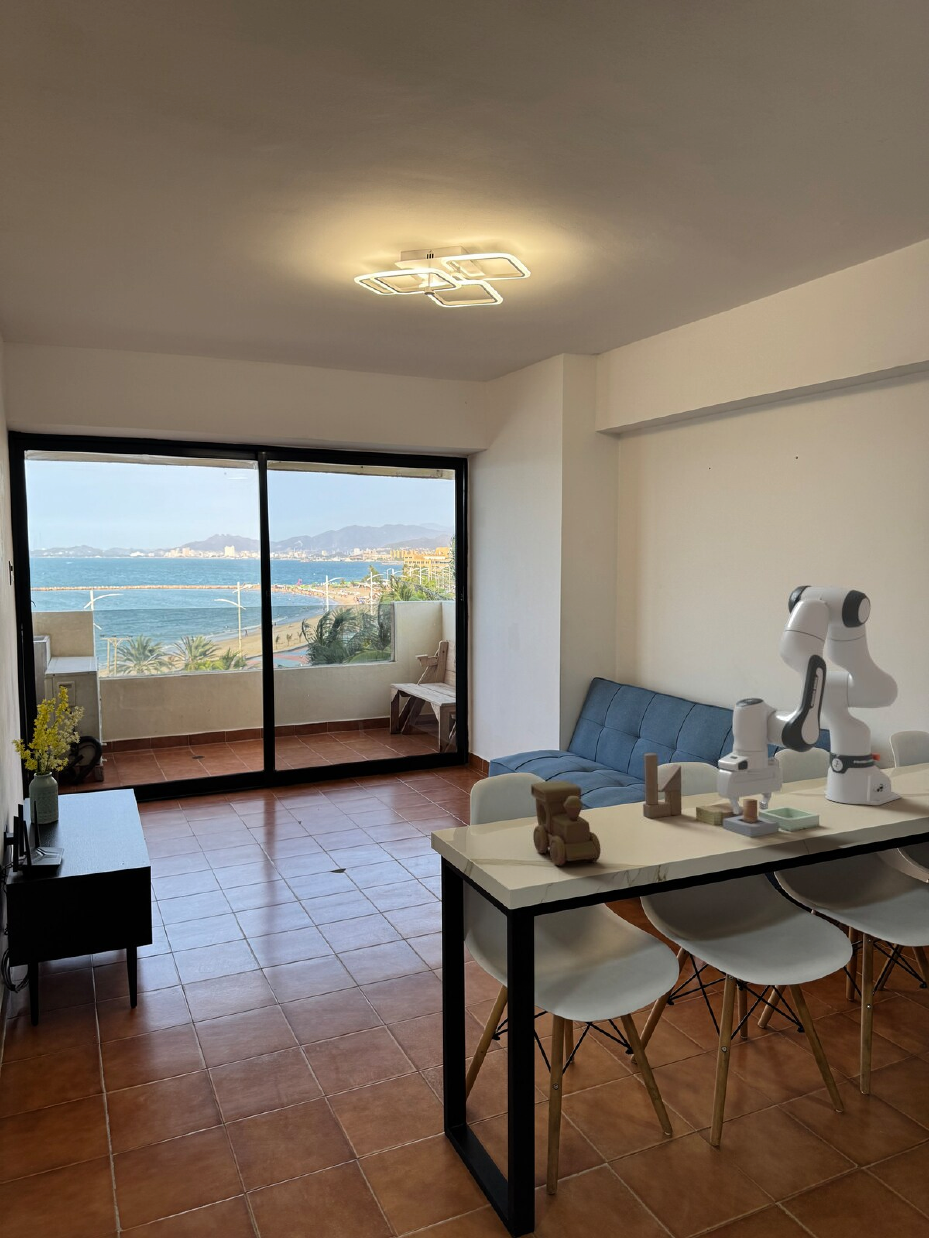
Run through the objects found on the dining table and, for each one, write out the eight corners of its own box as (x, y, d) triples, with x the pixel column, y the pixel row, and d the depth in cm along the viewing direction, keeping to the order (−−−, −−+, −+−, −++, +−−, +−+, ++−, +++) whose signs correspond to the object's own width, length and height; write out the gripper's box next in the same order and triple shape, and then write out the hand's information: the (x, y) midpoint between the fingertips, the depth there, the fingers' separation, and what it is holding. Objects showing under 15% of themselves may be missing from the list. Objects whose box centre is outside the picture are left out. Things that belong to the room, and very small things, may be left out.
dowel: (750, 827, 231) (750, 798, 231) (760, 830, 228) (760, 800, 227) (740, 829, 229) (740, 799, 229) (750, 832, 226) (750, 802, 226)
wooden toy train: (528, 847, 217) (527, 783, 217) (569, 842, 220) (568, 779, 220) (560, 871, 198) (559, 800, 198) (605, 865, 201) (603, 796, 201)
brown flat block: (728, 814, 246) (727, 802, 246) (748, 821, 239) (748, 808, 238) (703, 818, 242) (703, 806, 242) (723, 825, 235) (723, 812, 235)
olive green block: (704, 817, 241) (704, 805, 241) (722, 823, 235) (721, 810, 235) (696, 819, 240) (696, 807, 240) (713, 825, 234) (713, 812, 234)
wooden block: (682, 814, 245) (681, 752, 245) (649, 818, 242) (648, 755, 241) (675, 811, 249) (674, 750, 248) (642, 815, 245) (641, 753, 245)
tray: (787, 816, 241) (787, 806, 241) (819, 825, 231) (819, 814, 231) (758, 822, 236) (758, 811, 236) (789, 831, 226) (789, 820, 226)
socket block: (750, 822, 235) (750, 813, 235) (778, 831, 226) (778, 822, 226) (723, 828, 231) (722, 818, 231) (750, 837, 222) (750, 827, 222)
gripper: (769, 754, 235) (770, 804, 235) (713, 761, 226) (713, 813, 226) (787, 757, 229) (788, 808, 230) (730, 765, 220) (731, 818, 220)
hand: (750, 811), depth 228 cm, fingers open, 8 cm apart
